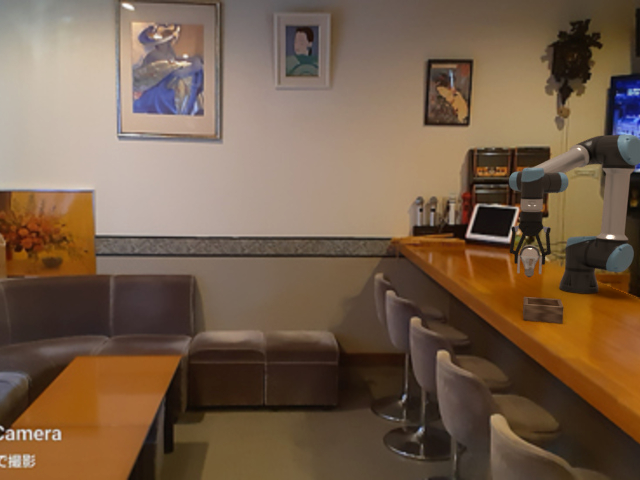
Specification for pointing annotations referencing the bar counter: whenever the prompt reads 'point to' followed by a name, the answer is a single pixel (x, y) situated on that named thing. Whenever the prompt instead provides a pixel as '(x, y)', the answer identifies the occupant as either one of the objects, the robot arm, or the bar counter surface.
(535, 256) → the light bulb
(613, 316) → the bar counter surface
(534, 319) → the walnut box
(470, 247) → the bar counter surface
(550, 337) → the bar counter surface
